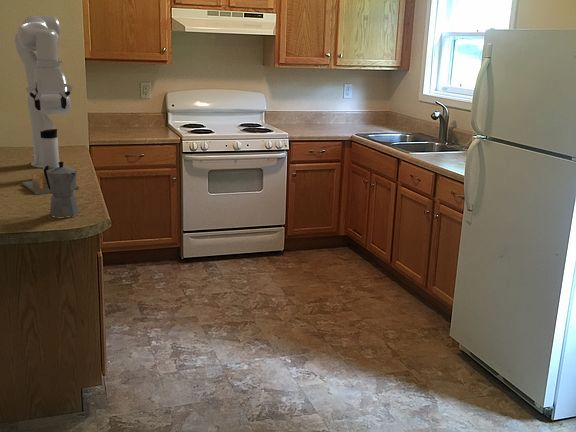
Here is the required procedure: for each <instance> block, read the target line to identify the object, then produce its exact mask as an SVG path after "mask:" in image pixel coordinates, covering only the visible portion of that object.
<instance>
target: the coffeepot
mask: <svg viewBox="0 0 576 432" xmlns="http://www.w3.org/2000/svg"><path fill="white" fill-rule="evenodd" d="M58 163H59V167H57V168H55V167H53V166H46V167H45V168H44V175H45V178H46V182H47V185H48V188H49V189H50V190H51V191H52V193H51V194H52V196H51V197H50V200H51V201H50V209H49V211H50V212H49V215H50V214H51V215H52V216H55V217H66V216H74V215H76V214H78V213H79V214H80V211H79V207H78V203H77V200H76V195H75V193H74V191H75V185H77V184H76V183H77V182H76V181H77V169H76V168H73V167H67V166H64V161H61V160H60V162H58ZM79 214H78V215H79ZM51 215H50V216H51ZM52 216H51V217H52Z"/></svg>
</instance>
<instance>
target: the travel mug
mask: <svg viewBox="0 0 576 432" xmlns="http://www.w3.org/2000/svg"><path fill="white" fill-rule="evenodd" d="M40 135H41V149H42V161H43V168H42V171H43V172H42V173H44V168H45V167H46V166H53V167H55V168H57V167H59V163H58V162H59V160H60V155H59V139H58V128H55V129H50V130H43V131H40Z"/></svg>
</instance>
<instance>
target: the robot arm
mask: <svg viewBox="0 0 576 432" xmlns="http://www.w3.org/2000/svg"><path fill="white" fill-rule="evenodd" d="M60 37H61V23H60V21H59V20H58V18H57V17H56V16H53V15H52V16H51V15H30V16H29V15H28V16H26V17H25V18H24V19H23V22H22V24H20V25H19V26H18V28H17V33H16V34H14V45H15V50H16V53H17V54H18V55H17V56H19V58H20V60H21V62H22V64H23V66H24V71H25V77H26V82H27V87H25V90H26V92H27V94H28V95H27V98H26V102H27V103H26V104H27V107H28V112H29V117H30V124H31V136H32V148H33V149H32V150H33V159H34V160H33V161H31V162H30V166H31V167H33V168H41V169H43V161H42V149H41V135H40V131H43V130H50V129H56V125H55V122H54V121H53V120H52V119H51V118H50V116H49V115H61V114H62V115H64V114H68V113H70V111H71V109H72V101H71V97H70V95H71V92H72V90H73V85H69V84H68V81H67V78H66V75H65V73H64V72H62V69H61V67H60V65H62V64H63V61H62V60H59V56H58V55H59V54H58V47H59V42H60ZM35 52H36V53H35ZM60 161H61V160H60V159H59V162H60Z"/></svg>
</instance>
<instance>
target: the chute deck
mask: <svg viewBox="0 0 576 432" xmlns="http://www.w3.org/2000/svg"><path fill="white" fill-rule="evenodd" d="M31 178H32V180H29V181H22V183H21V184H22V186H24V187H25V188H26V189H27V190H29V191H30V192H31V193H33V194H34V195H42V194H52V191H51V190H50V189H49V188H48V185H47V182H46V178H45V175H44V173H43V172H37V173H32V174H31ZM75 190H80V187H79V186H78V185H77V184H75ZM75 190H74V191H75Z"/></svg>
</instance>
